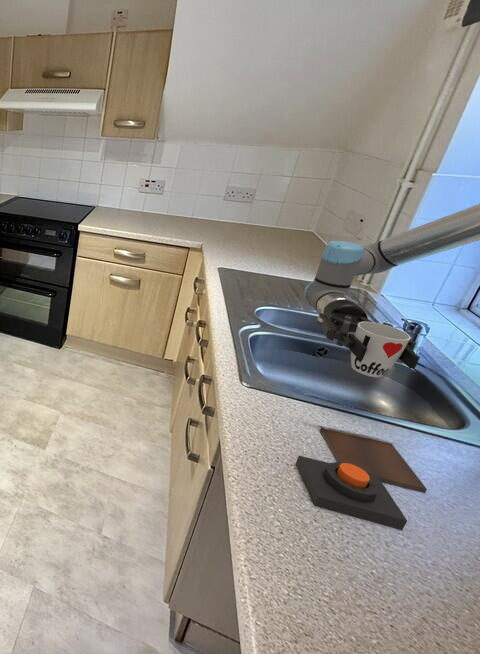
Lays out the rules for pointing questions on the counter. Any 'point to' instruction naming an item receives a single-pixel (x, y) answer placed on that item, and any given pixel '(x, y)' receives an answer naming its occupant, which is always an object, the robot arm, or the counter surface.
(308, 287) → the robot arm
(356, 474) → the console button
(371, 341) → the cup
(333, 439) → the trivet
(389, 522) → the console
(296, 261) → the counter surface
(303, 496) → the counter surface
